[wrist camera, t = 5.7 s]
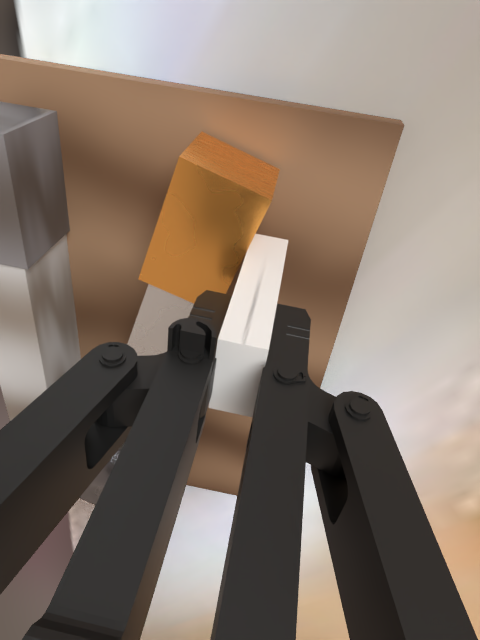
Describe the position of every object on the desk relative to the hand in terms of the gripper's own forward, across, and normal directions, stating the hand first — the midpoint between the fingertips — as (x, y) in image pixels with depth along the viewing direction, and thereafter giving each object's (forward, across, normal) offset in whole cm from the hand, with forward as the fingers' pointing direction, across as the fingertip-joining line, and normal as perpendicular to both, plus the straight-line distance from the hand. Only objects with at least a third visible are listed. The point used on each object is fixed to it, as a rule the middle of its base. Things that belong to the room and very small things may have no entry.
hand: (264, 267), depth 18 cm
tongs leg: (+2, +4, +6) cm, 8 cm away
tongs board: (+3, +5, +6) cm, 9 cm away
